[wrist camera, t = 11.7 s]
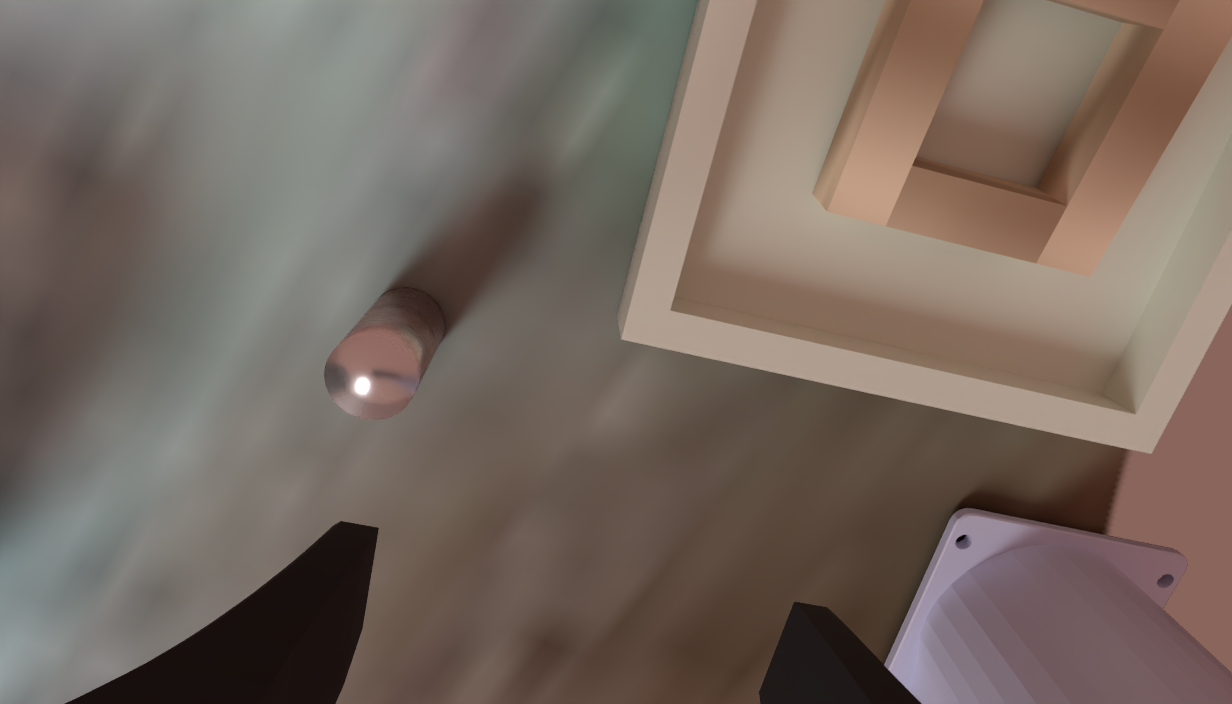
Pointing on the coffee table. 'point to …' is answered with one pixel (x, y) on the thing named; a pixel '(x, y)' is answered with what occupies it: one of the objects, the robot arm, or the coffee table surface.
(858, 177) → the collar
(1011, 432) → the coffee table surface
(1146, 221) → the tray
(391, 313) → the peg
